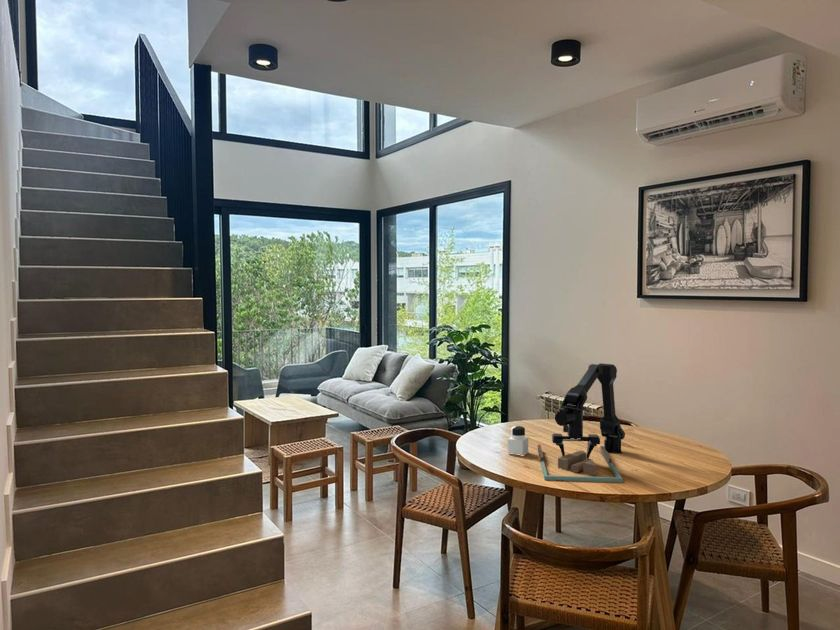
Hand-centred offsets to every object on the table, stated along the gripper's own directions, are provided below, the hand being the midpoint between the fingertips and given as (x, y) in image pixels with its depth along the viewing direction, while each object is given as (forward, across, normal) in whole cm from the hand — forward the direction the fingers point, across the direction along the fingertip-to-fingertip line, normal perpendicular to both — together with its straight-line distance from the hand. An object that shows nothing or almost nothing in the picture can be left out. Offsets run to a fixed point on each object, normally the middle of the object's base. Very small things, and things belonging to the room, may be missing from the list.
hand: (575, 459), depth 234 cm
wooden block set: (+3, -4, +4) cm, 6 cm away
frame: (+2, 0, +11) cm, 11 cm away
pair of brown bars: (+2, 0, -9) cm, 9 cm away
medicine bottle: (+2, +23, -14) cm, 27 cm away
